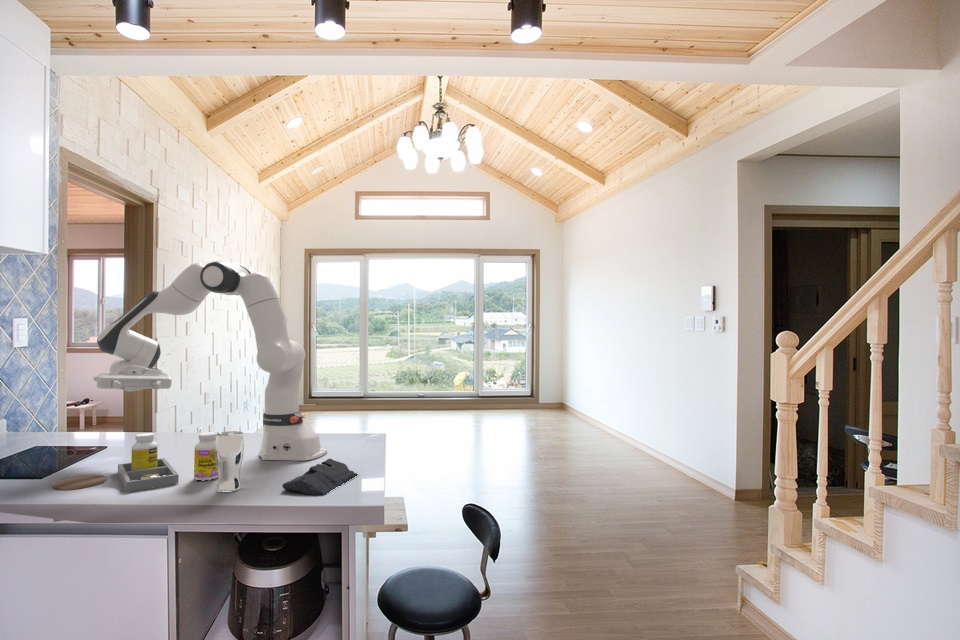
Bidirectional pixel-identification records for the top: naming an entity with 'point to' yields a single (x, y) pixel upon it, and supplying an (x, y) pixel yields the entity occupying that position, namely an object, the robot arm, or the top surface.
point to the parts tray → (161, 469)
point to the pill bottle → (144, 452)
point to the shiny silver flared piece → (229, 459)
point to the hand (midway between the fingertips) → (139, 386)
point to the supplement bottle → (205, 457)
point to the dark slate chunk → (321, 478)
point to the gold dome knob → (149, 476)
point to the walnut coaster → (79, 482)
